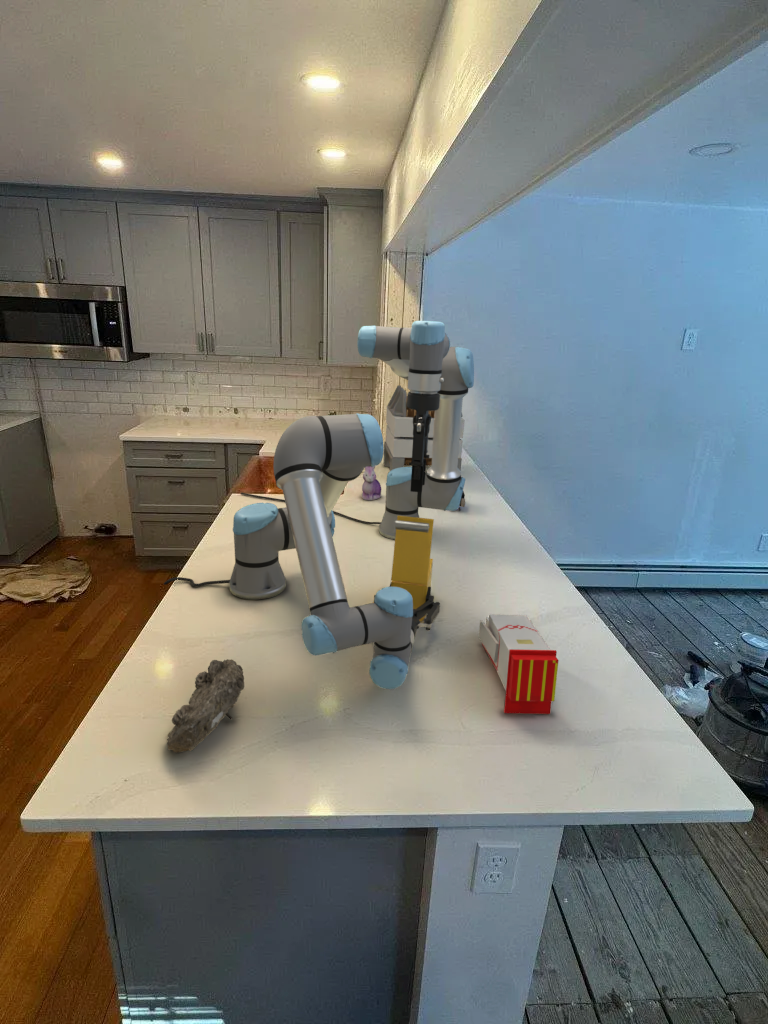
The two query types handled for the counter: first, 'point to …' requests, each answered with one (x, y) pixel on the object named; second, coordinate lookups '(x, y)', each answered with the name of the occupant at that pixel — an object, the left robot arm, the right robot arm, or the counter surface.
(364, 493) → the figurine
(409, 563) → the yellow block with rod
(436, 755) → the counter surface
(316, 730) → the counter surface
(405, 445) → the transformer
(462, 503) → the figurine character
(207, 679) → the fossil
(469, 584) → the counter surface
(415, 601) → the yellow open-ended box
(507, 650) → the toy
